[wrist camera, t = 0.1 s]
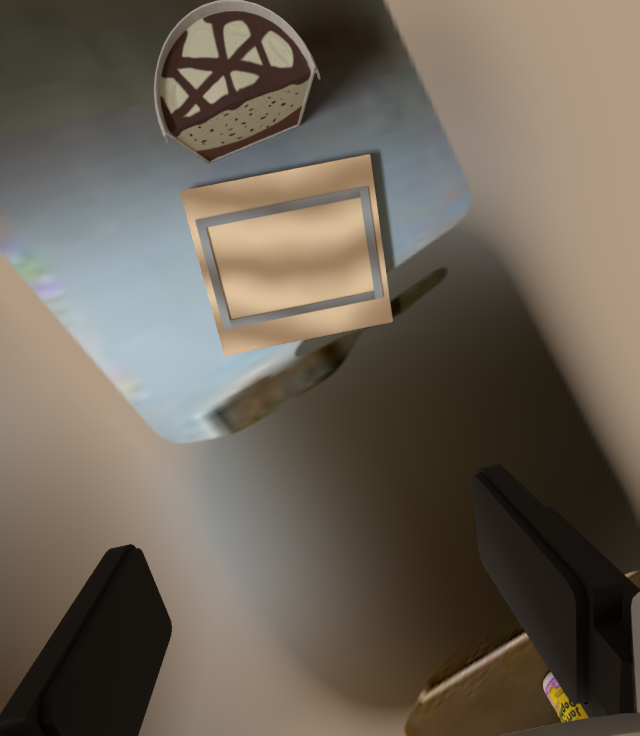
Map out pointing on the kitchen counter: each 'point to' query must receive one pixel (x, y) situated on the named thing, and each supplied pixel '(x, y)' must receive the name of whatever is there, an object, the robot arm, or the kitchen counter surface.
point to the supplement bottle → (562, 701)
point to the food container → (231, 79)
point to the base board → (291, 253)
